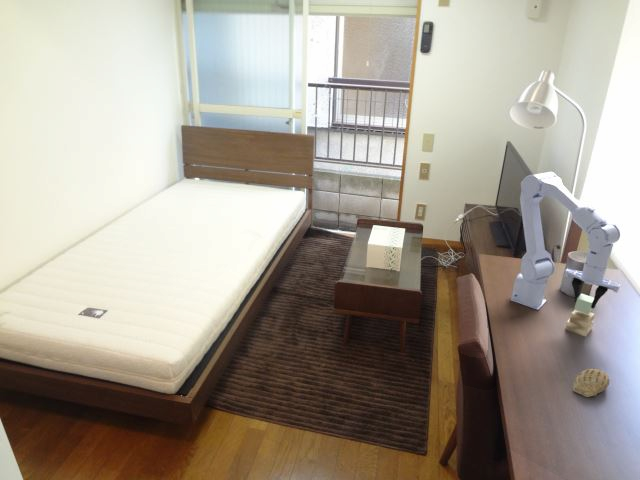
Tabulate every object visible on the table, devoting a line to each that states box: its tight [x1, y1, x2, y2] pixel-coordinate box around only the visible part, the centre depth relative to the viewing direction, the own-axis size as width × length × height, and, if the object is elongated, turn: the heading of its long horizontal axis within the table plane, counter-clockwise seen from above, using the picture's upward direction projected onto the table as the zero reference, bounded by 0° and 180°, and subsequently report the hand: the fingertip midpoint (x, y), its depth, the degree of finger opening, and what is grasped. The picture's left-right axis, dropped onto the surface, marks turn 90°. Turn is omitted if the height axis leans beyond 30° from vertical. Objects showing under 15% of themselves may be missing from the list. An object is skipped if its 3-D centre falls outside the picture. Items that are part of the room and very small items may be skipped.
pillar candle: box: [559, 250, 594, 298], centre depth 169 cm, size 10×10×15 cm
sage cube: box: [573, 293, 595, 315], centre depth 146 cm, size 4×4×4 cm
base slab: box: [565, 318, 594, 338], centre depth 150 cm, size 6×6×3 cm
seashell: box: [571, 367, 610, 398], centre depth 125 cm, size 8×6×10 cm
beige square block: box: [568, 310, 596, 328], centre depth 149 cm, size 5×5×3 cm
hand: (584, 304), depth 147 cm, fingers closed on sage cube, 4 cm apart
